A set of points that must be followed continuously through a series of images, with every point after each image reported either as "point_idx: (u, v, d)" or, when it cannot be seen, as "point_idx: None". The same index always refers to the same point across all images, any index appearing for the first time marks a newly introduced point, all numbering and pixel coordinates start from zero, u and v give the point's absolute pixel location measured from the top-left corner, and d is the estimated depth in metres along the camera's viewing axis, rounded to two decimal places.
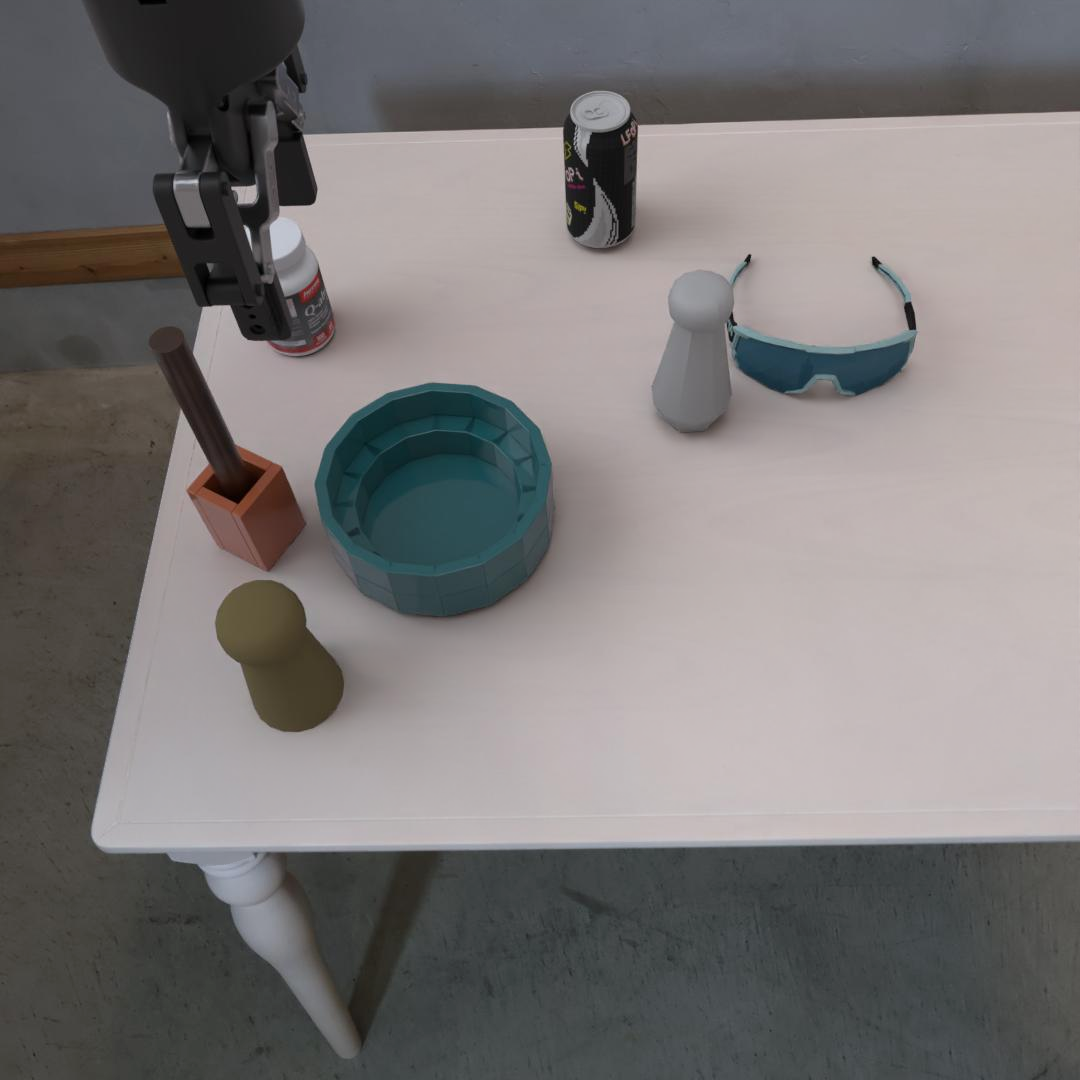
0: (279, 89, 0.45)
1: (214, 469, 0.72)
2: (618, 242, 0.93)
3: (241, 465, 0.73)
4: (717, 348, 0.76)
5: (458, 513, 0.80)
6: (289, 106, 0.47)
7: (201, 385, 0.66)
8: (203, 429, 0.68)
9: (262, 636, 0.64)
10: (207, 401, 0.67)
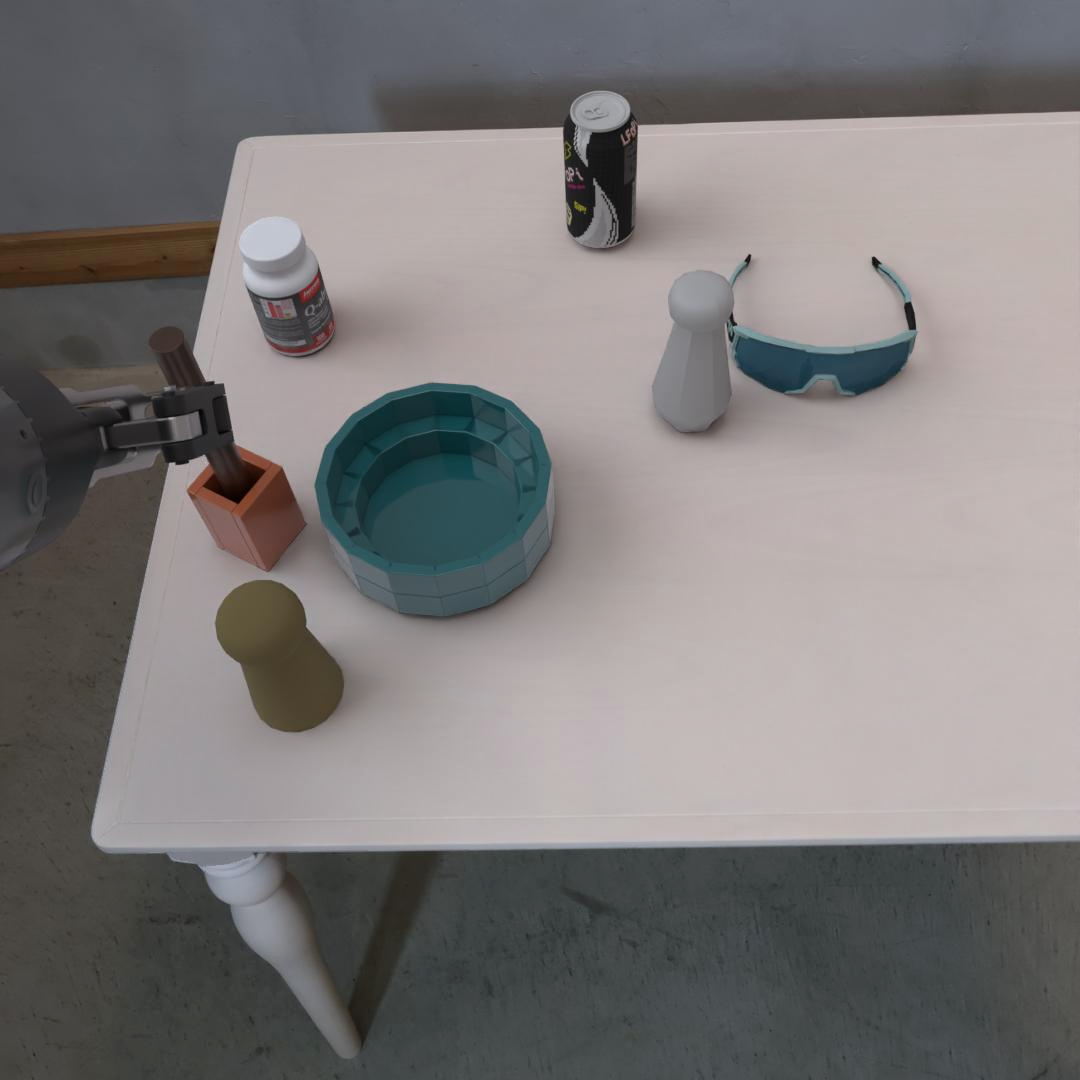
0: None
1: (214, 469, 0.72)
2: (618, 242, 0.93)
3: (241, 465, 0.73)
4: (717, 348, 0.76)
5: (458, 513, 0.80)
6: None
7: (201, 385, 0.66)
8: None
9: (262, 636, 0.64)
10: None
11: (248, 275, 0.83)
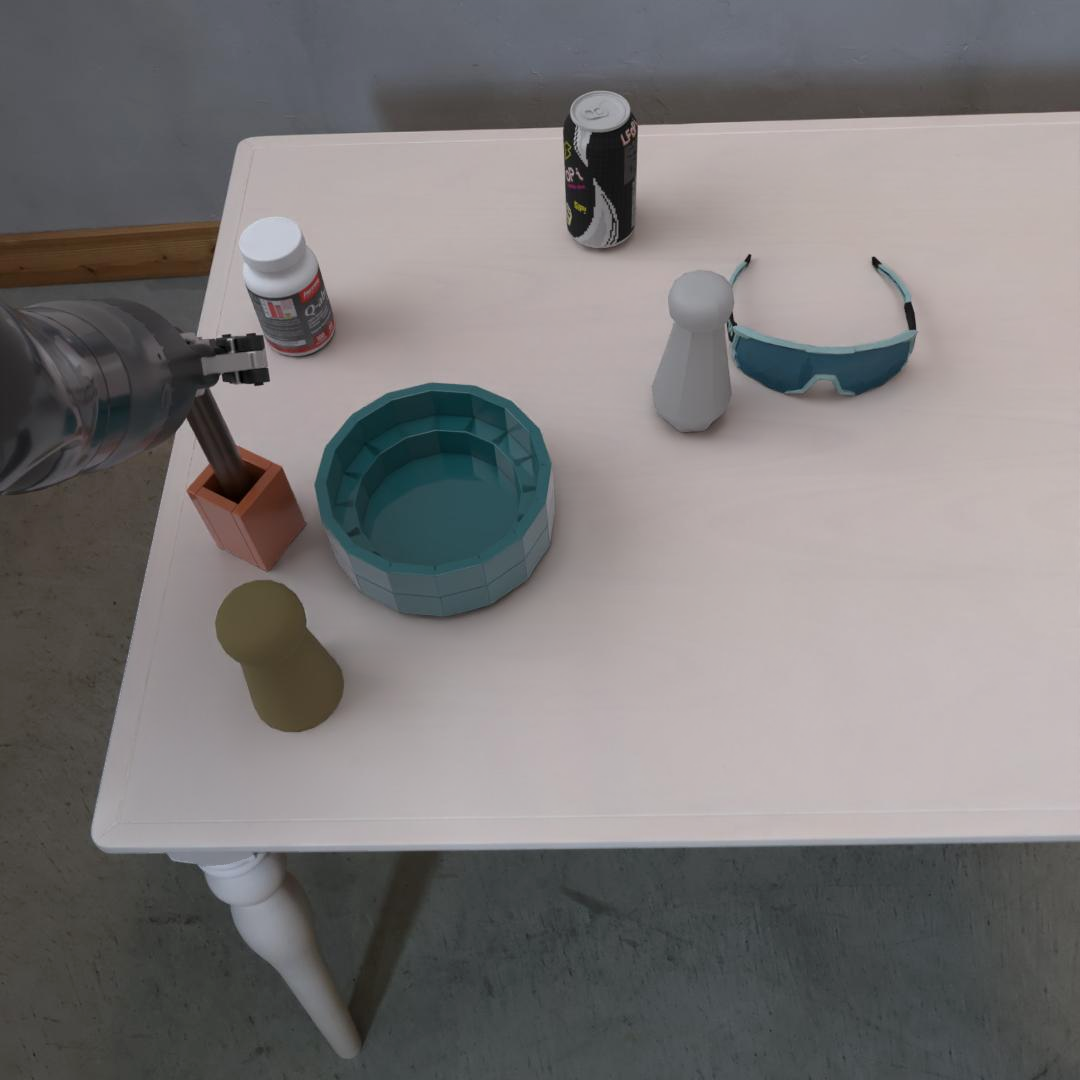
0: None
1: (214, 469, 0.72)
2: (618, 242, 0.93)
3: (242, 465, 0.73)
4: (717, 348, 0.76)
5: (458, 513, 0.80)
6: None
7: None
8: (203, 428, 0.68)
9: (262, 636, 0.64)
10: (207, 401, 0.67)
11: (248, 275, 0.83)
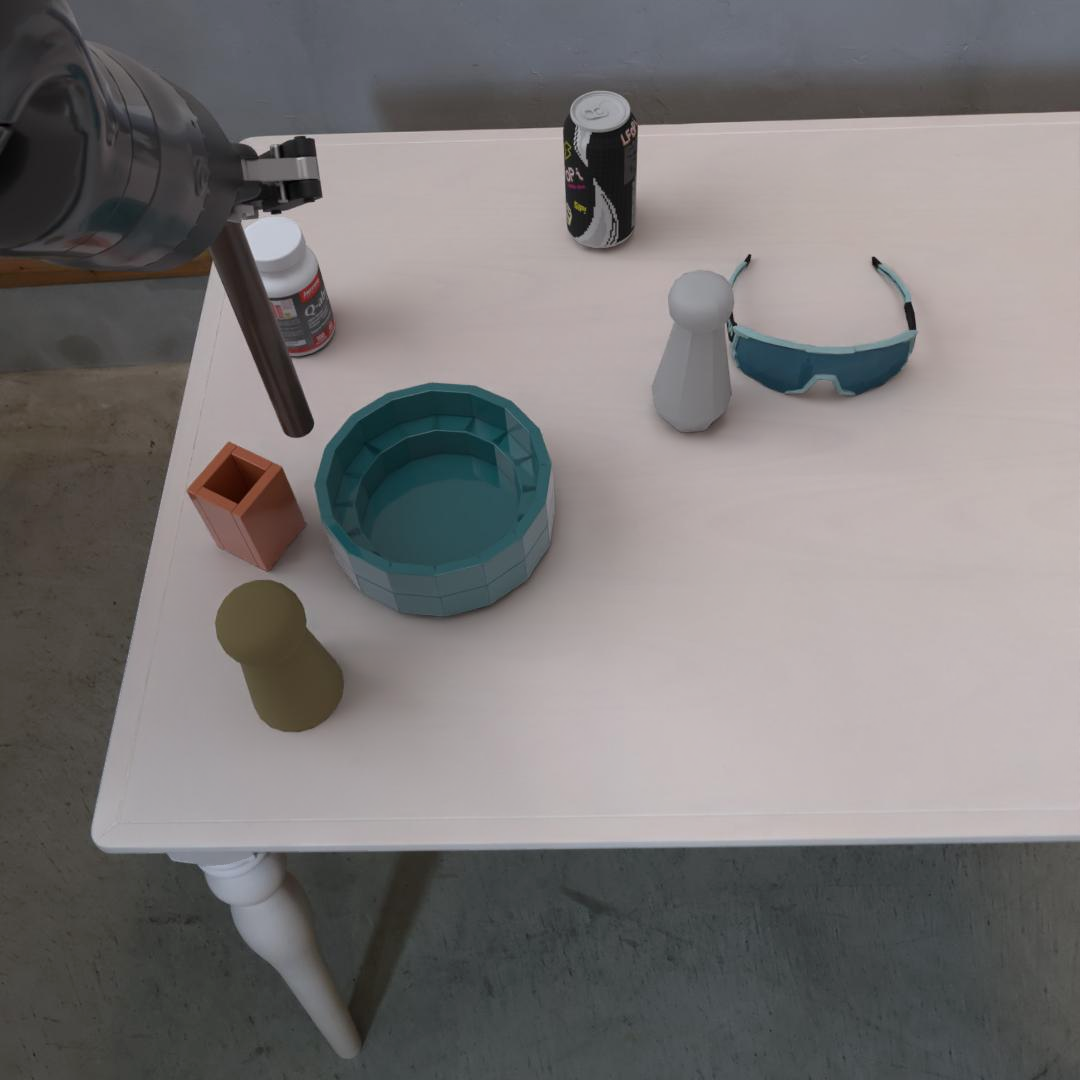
0: None
1: (249, 340, 0.62)
2: (618, 242, 0.93)
3: (280, 337, 0.63)
4: (717, 348, 0.76)
5: (458, 513, 0.80)
6: None
7: (236, 225, 0.56)
8: (237, 283, 0.58)
9: (262, 636, 0.64)
10: (242, 247, 0.57)
11: None
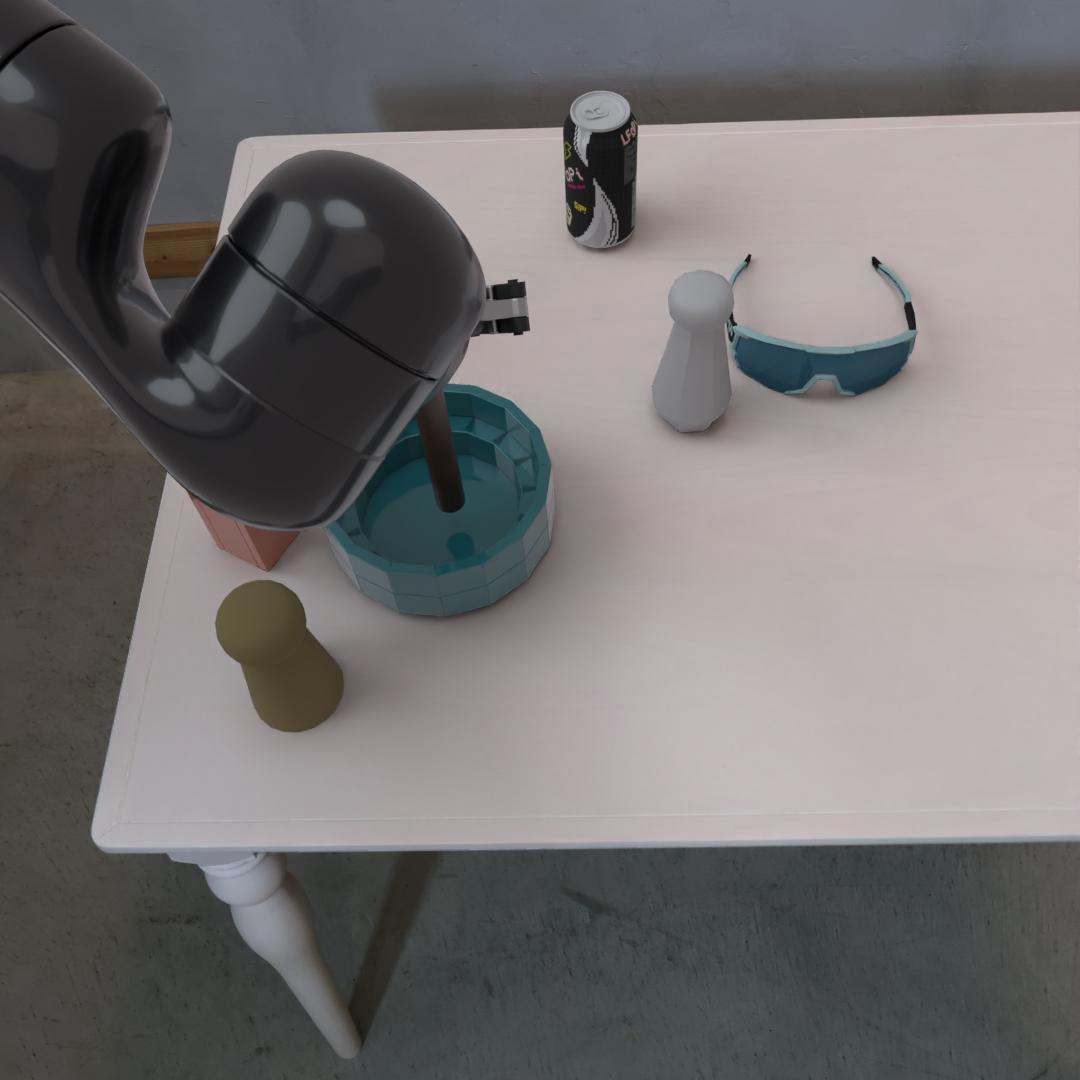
0: None
1: (424, 433, 0.69)
2: (618, 242, 0.93)
3: (450, 429, 0.70)
4: (717, 348, 0.76)
5: (458, 513, 0.80)
6: None
7: None
8: None
9: (262, 636, 0.64)
10: None
11: None
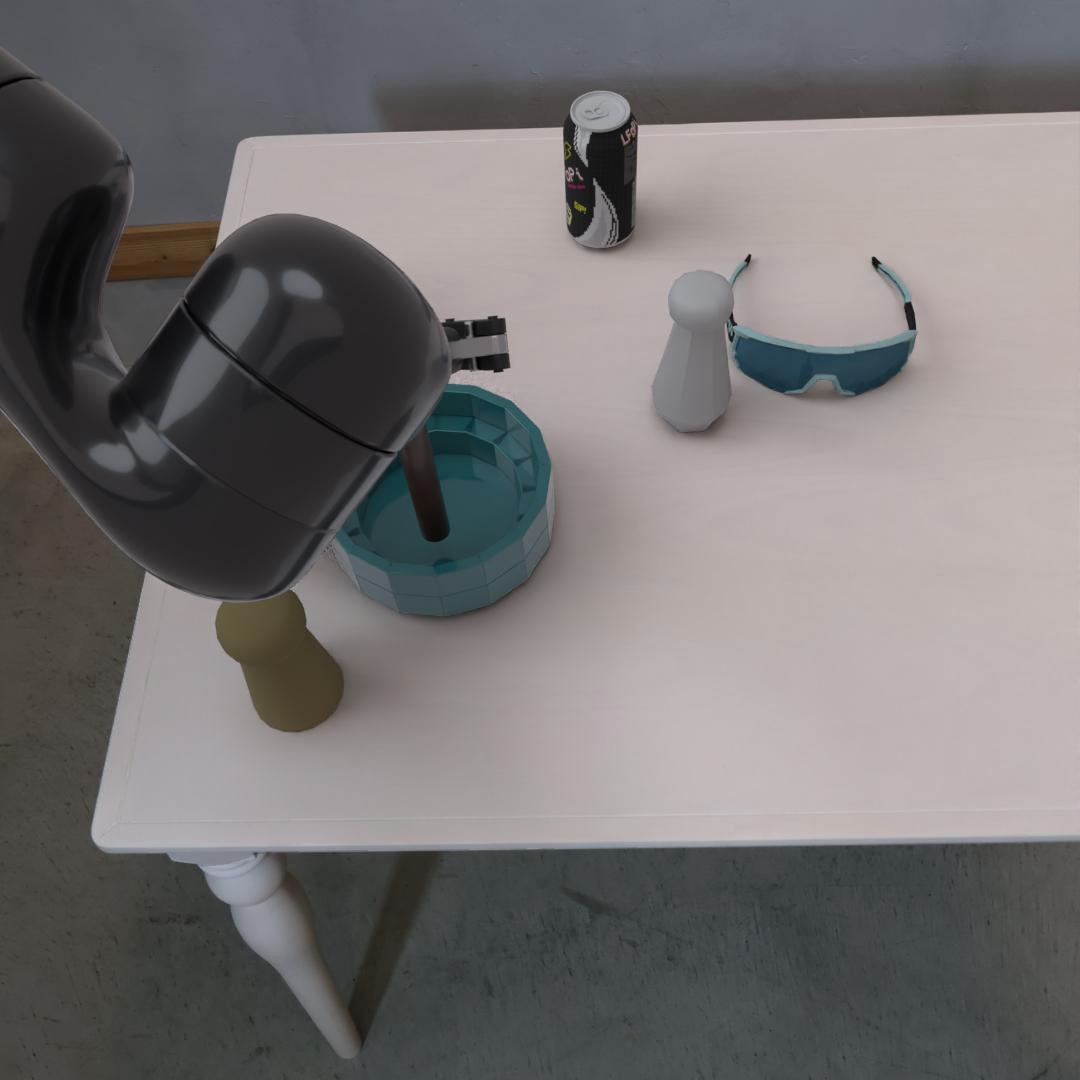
0: None
1: (406, 464, 0.68)
2: (618, 242, 0.93)
3: (433, 460, 0.69)
4: (717, 348, 0.76)
5: (458, 513, 0.80)
6: None
7: None
8: None
9: (262, 636, 0.64)
10: None
11: None
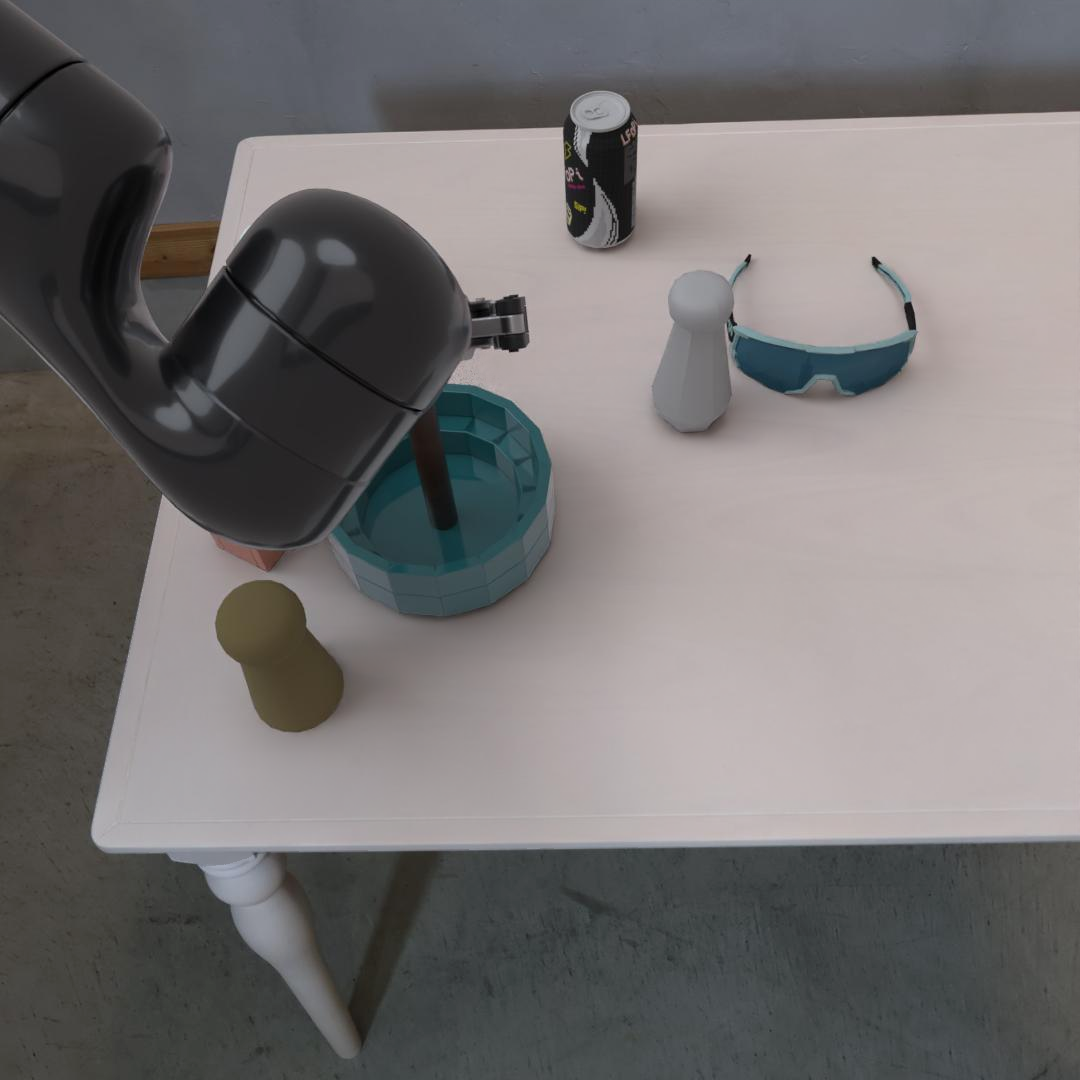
0: None
1: (418, 455, 0.72)
2: (618, 242, 0.93)
3: (443, 451, 0.73)
4: (717, 348, 0.76)
5: (458, 513, 0.80)
6: None
7: None
8: None
9: (262, 636, 0.64)
10: None
11: None
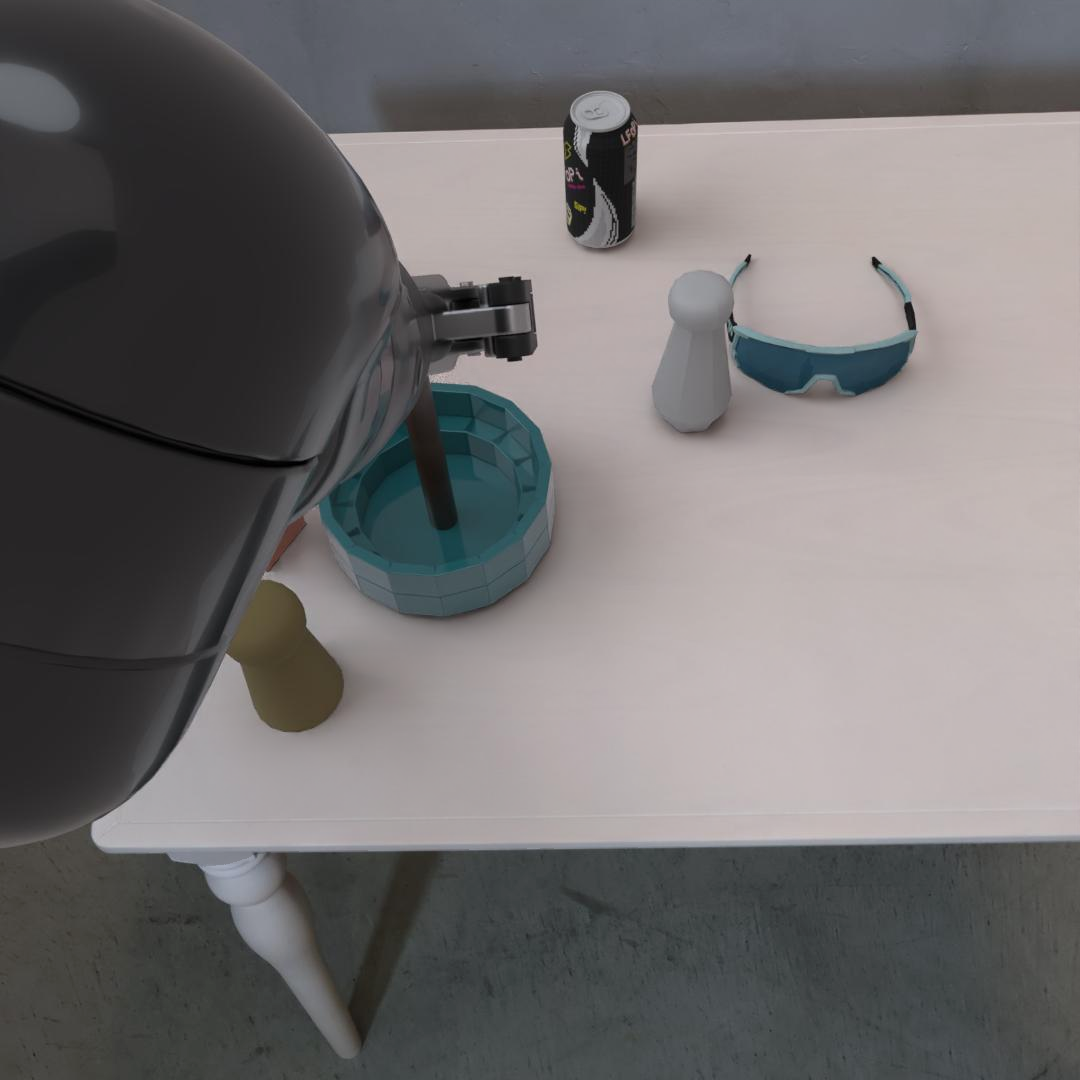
0: None
1: (418, 455, 0.72)
2: (618, 242, 0.93)
3: (443, 451, 0.73)
4: (717, 348, 0.76)
5: (458, 513, 0.80)
6: None
7: None
8: (418, 413, 0.68)
9: (262, 636, 0.64)
10: (426, 386, 0.66)
11: None
